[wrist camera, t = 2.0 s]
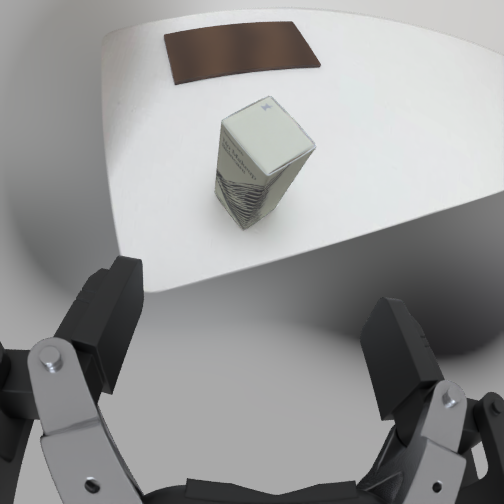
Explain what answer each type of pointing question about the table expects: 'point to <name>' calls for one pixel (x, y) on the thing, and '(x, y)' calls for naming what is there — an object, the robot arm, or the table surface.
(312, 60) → the walnut board
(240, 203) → the box
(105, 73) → the table surface
